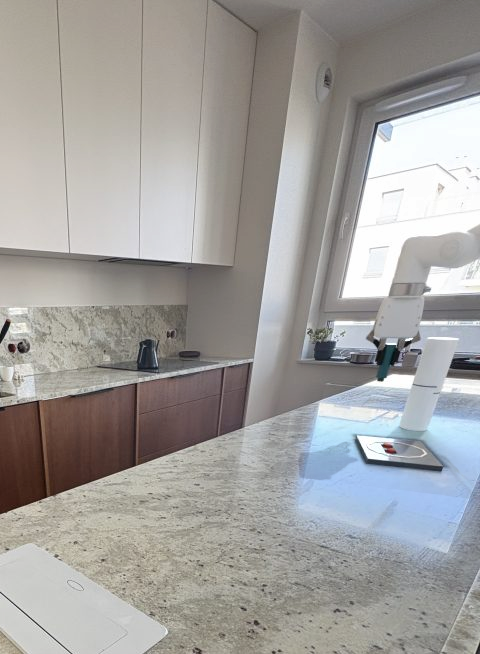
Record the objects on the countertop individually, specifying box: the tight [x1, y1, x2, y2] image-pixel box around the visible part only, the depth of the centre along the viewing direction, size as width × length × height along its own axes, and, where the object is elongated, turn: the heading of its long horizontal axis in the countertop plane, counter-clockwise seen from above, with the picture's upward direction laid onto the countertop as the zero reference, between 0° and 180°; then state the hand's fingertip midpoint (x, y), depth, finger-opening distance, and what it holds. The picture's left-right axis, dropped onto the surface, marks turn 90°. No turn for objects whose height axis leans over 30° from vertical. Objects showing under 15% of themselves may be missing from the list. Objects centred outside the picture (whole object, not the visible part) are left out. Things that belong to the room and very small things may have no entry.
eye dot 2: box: [386, 448, 395, 453], centre depth 105 cm, size 2×2×1 cm
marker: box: [375, 342, 397, 383], centre depth 118 cm, size 3×3×10 cm
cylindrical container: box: [398, 336, 460, 432], centre depth 121 cm, size 7×7×25 cm
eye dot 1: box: [383, 443, 392, 448], centre depth 108 cm, size 2×2×1 cm
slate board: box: [355, 435, 444, 472], centre depth 106 cm, size 15×20×1 cm
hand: (385, 364), depth 118 cm, fingers closed on marker, 2 cm apart
